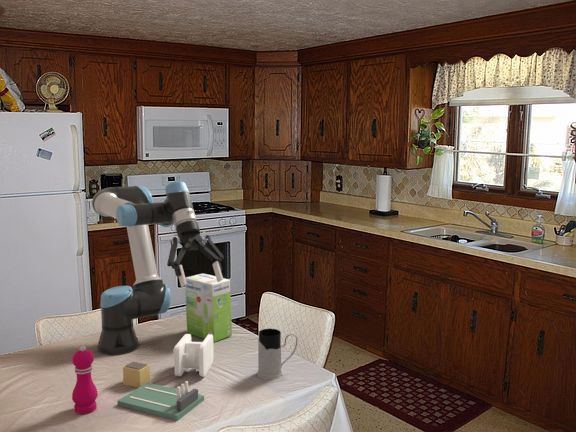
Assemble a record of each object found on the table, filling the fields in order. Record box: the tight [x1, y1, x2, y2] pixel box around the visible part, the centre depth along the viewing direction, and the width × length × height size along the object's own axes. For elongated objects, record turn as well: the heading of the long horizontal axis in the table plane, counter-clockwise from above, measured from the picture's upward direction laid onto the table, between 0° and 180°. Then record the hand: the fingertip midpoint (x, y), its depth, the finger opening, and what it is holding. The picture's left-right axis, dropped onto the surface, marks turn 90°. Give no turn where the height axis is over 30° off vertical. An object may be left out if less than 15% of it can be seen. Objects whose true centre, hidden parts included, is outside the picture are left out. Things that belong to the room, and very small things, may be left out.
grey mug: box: [256, 328, 298, 380], centre depth 192 cm, size 9×14×15 cm, turn 104°
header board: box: [117, 380, 205, 422], centre depth 170 cm, size 22×14×8 cm, turn 66°
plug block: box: [122, 361, 151, 388], centre depth 184 cm, size 7×5×6 cm
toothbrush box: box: [184, 273, 233, 343], centre depth 228 cm, size 18×10×24 cm, turn 49°
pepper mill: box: [71, 345, 98, 415], centre depth 165 cm, size 7×7×20 cm
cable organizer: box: [172, 333, 214, 378], centre depth 193 cm, size 15×11×12 cm
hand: (202, 283), depth 180 cm, fingers open, 13 cm apart
